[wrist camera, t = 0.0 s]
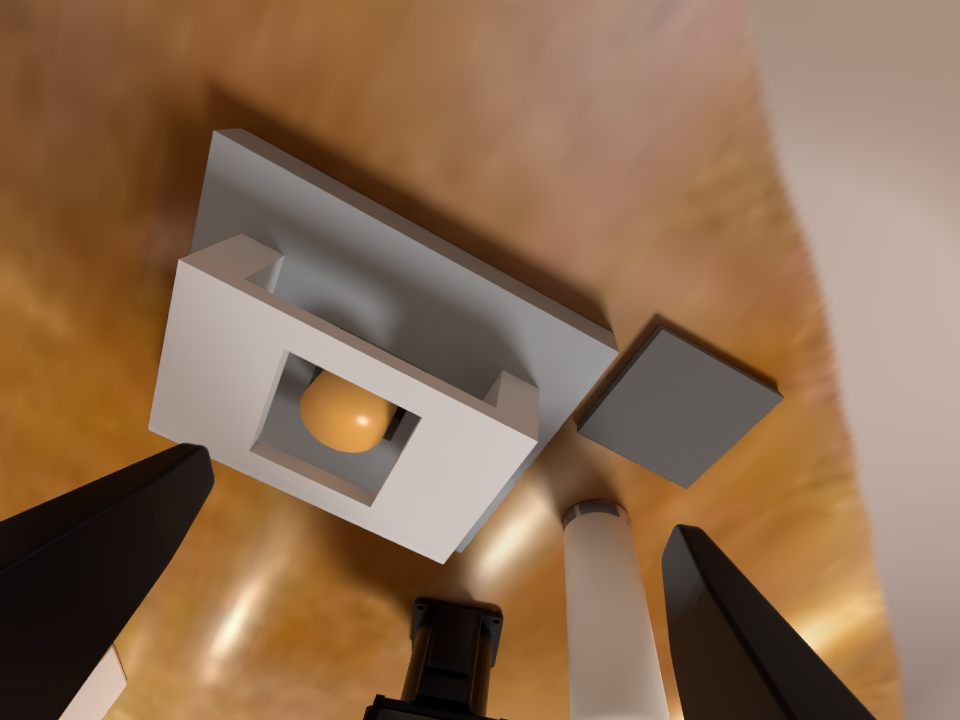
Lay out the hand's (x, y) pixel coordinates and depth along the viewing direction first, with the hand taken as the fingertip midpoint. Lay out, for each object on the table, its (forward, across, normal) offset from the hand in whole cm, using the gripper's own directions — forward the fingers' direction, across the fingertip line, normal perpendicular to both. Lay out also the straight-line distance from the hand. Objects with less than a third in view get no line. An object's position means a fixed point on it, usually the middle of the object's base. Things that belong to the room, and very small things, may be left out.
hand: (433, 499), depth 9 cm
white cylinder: (+15, -8, +15) cm, 22 cm away
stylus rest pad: (+15, -10, +6) cm, 19 cm away
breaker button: (+13, +6, +6) cm, 15 cm away
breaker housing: (+15, +6, +6) cm, 17 cm away
